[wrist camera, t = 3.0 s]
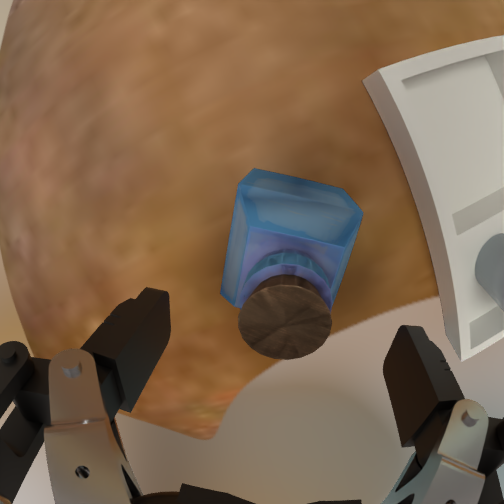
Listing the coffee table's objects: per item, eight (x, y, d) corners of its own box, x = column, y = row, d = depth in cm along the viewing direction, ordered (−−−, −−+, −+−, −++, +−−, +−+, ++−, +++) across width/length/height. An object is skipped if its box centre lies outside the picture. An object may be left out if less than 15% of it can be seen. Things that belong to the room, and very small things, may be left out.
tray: (361, 80, 16) (378, 69, 12) (480, 43, 13) (507, 34, 9) (445, 334, 23) (461, 362, 19) (533, 280, 19) (553, 300, 15)
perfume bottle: (342, 188, 19) (403, 263, 8) (319, 268, 22) (338, 395, 11) (254, 168, 20) (205, 217, 9) (238, 250, 22) (189, 366, 11)
